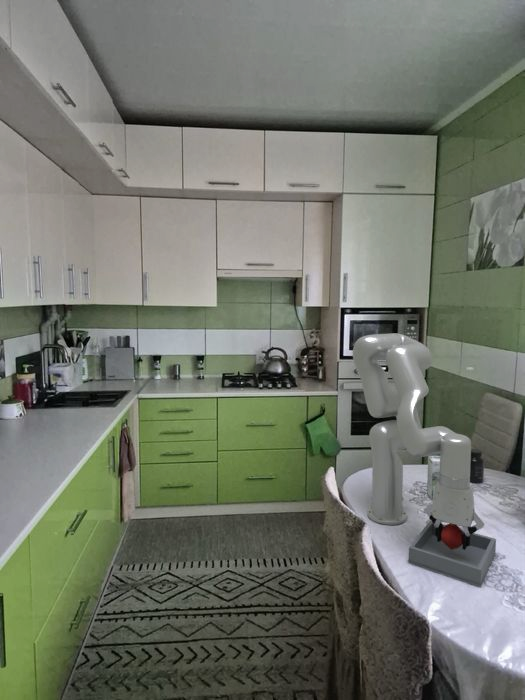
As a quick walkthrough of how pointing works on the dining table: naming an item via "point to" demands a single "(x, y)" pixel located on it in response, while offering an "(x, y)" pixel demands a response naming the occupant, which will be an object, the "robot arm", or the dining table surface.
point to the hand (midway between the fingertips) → (452, 542)
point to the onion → (452, 536)
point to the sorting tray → (453, 556)
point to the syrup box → (432, 474)
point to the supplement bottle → (476, 466)
